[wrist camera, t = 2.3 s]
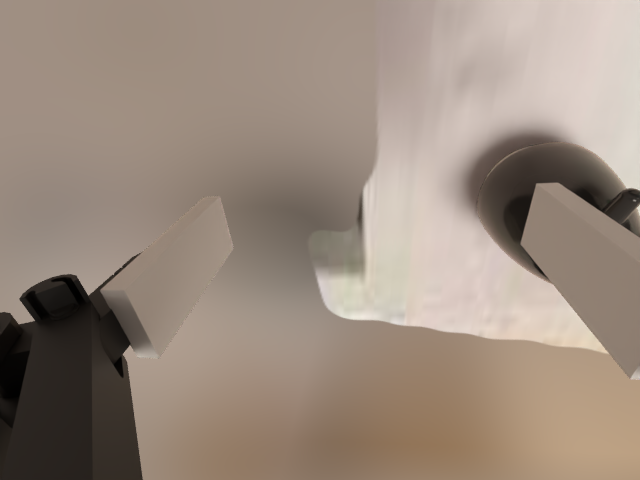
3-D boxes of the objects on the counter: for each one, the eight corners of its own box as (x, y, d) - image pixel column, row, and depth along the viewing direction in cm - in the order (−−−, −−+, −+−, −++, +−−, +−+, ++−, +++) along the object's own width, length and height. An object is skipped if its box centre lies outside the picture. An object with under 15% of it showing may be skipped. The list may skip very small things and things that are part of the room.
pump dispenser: (604, 126, 28) (771, 202, 16) (563, 227, 34) (663, 341, 21) (480, 129, 30) (542, 198, 18) (461, 223, 36) (498, 326, 23)
